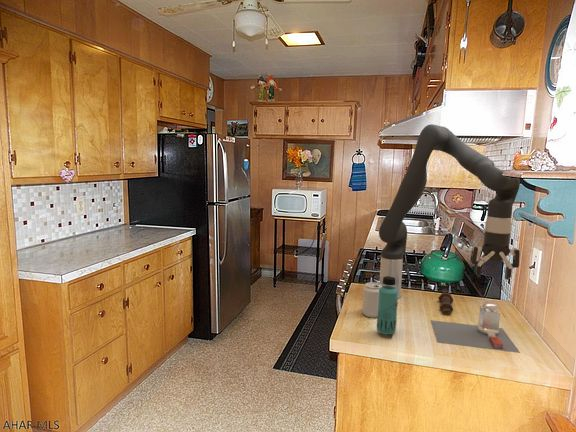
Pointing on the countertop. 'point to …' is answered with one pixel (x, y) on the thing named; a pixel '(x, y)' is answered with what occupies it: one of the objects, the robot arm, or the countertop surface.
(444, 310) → the bolt
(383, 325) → the beverage bottle
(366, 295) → the can
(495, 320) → the metal block with knob
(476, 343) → the tool mat
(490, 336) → the ratchet
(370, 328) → the countertop surface
